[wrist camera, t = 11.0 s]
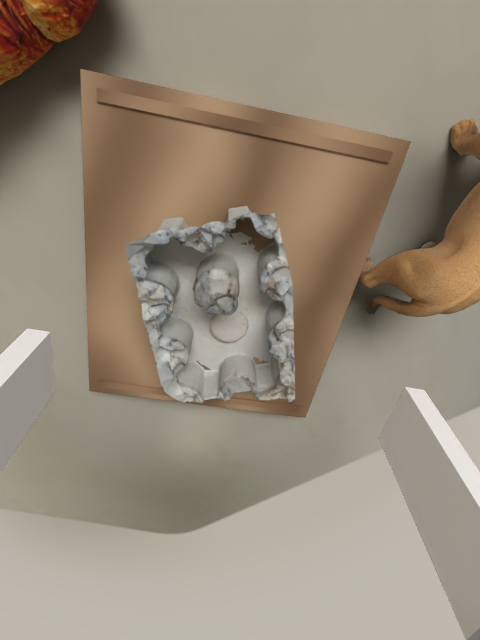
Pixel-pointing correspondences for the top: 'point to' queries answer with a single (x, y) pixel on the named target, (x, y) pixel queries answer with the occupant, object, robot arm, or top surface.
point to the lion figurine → (437, 256)
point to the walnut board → (223, 215)
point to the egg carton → (217, 308)
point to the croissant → (36, 30)
